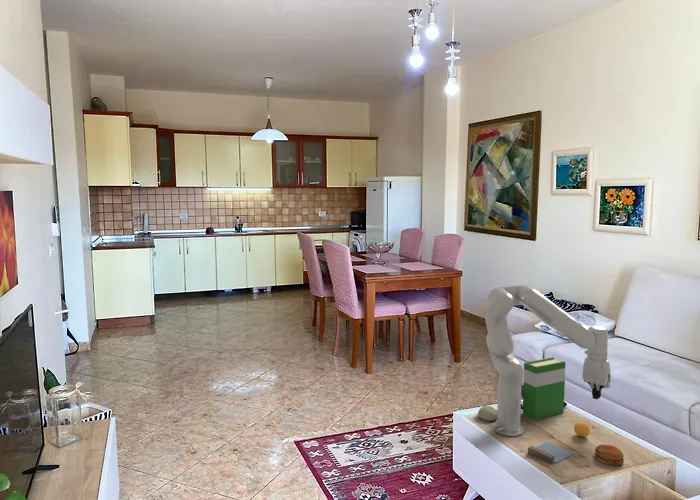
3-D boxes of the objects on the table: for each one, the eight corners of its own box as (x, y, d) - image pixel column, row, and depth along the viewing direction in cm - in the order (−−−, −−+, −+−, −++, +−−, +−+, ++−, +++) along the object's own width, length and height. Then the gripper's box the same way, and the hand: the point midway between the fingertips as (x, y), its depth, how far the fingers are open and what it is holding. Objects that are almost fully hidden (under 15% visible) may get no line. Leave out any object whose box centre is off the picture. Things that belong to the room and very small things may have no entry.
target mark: (556, 463, 190) (556, 463, 190) (528, 450, 200) (528, 450, 200) (574, 453, 197) (574, 453, 197) (546, 442, 207) (546, 441, 207)
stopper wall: (551, 464, 190) (551, 457, 190) (527, 453, 198) (528, 447, 198) (554, 462, 191) (554, 456, 191) (530, 451, 199) (531, 445, 199)
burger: (629, 463, 190) (629, 451, 190) (610, 468, 187) (610, 456, 186) (607, 451, 199) (607, 440, 199) (588, 456, 196) (589, 444, 196)
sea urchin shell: (496, 409, 235) (499, 402, 229) (498, 426, 230) (501, 419, 224) (476, 408, 236) (478, 401, 230) (477, 425, 231) (480, 418, 225)
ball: (584, 441, 207) (585, 426, 207) (571, 435, 212) (571, 421, 212) (592, 436, 211) (593, 422, 210) (578, 431, 216) (579, 418, 215)
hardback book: (551, 406, 242) (552, 357, 239) (563, 412, 235) (565, 361, 233) (522, 413, 234) (524, 362, 232) (534, 419, 228) (536, 367, 225)
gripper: (575, 353, 218) (574, 395, 220) (610, 362, 206) (609, 406, 208) (584, 350, 222) (584, 391, 224) (619, 358, 210) (618, 401, 212)
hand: (596, 398), depth 216 cm, fingers closed
